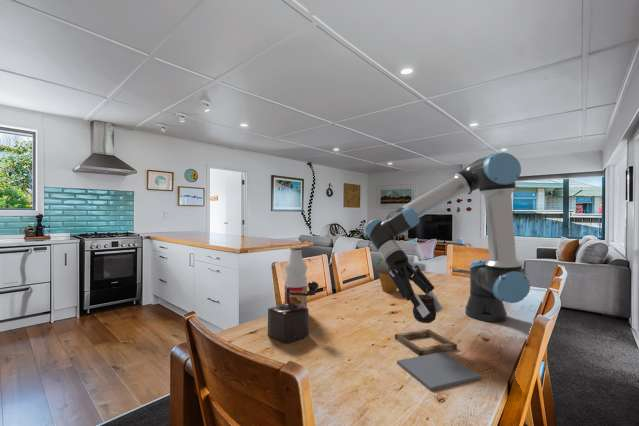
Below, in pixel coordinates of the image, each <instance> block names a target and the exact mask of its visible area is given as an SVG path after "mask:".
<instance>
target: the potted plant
mask: <svg viewBox="0 0 639 426" xmlns="http://www.w3.org/2000/svg"><path fill="white" fill-rule="evenodd" d="M382 261H384V259H383V258H379V259H377V261H376V262H375V263H374V264H373V265H378V264H380V263H382ZM387 268H388V270H386V269H385V270H383V269H382V270H378V272H377V273H378V277H379V281H380V285H381V288H382V291H383V292H384V293H396V292H397V290H398V288H397V286H396V284H395V283H394V281H393V279H392V278H391V277H390V276H389V273H390V271H391V269H390V268H389V267H388V266H387Z"/></svg>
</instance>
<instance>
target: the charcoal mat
mask: <svg viewBox="0 0 639 426" xmlns="http://www.w3.org/2000/svg"><path fill="white" fill-rule="evenodd" d="M396 365H398V366H399V367H401V368H402V369H403V370H404V371H406V372H407V373H408V374H409V375H410V376H411V377H413V378H415V380H417V381H418V382H419V383H420V384H421V385H423V386H424V387H425V388H427V389H428V390H429V391H430V392H431V391H435V390H440V389H443V388H449V387H452V386H456V385H462V384H465V383H469V382H473V381H477V380H482V375H481V374H479V373H478V372H476V371H475V370H473V369H471V368H470V367H467V366H466V365H464V364H463V363H461V362H459V361H458V360H456V359H454V358H453V357H451V356H449V355H448V354H446V353H445V352H439V353H433V354H428V355H423V356H419V355H418V356H415V357H408V358H403V359H397V360H396Z"/></svg>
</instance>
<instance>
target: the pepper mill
mask: <svg viewBox="0 0 639 426" xmlns="http://www.w3.org/2000/svg"><path fill="white" fill-rule="evenodd" d="M307 288H308V291H307V293H290V288H287V289H286V290H287V292H286V294H287V302H286V303H285V302H284V303H282V304H280V305H276V306H272V307H270V308H267V309H268V310H267V336H269V337H270V338H273V339H274V340H276V341H278V342H280V343H283V344H286V345H288V344H290V343H293V342H296V341H298V340H301V339H302V338H305V337H307V336H308V335H309V334H310V333H309V308H308V307H307V308H305V307H302V306H299V305H296V304H294V303H292V302H290V295H303V296H307V297H308V296H310V297H312V296H316V291H317V289H319V283H318V282H316V281H309V282H307Z"/></svg>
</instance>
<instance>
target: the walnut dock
mask: <svg viewBox="0 0 639 426" xmlns="http://www.w3.org/2000/svg"><path fill="white" fill-rule="evenodd" d="M421 337H422V338H423V337H430V338H431V339H434V340H435V341H436V342H439V343H440V344H436V345H430V346H425V347H420V346H418V345H416V344H415V343H413V342H412V341H410V340H411V339H415V338H417V339H418V338H421ZM394 339H395V340H396V341H397V342H399V343H400V344H402V345H403V346H405V347H406V348H408V349H409V350H410V351H411V352H413V353H414V354H416V355H418V356H424V355H429V354H434V353H440V352H443V353H445V352H448V351H455V350H457V349H458V345H457V343H455V342H453V341H451V340H449V339H447V338H446V337H444V336H442V335H440V334H438V333H437V332H435V331H433V330H431V329H429V328H427V329H421V330H415V331H409V332H402V333H395V334H394Z"/></svg>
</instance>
